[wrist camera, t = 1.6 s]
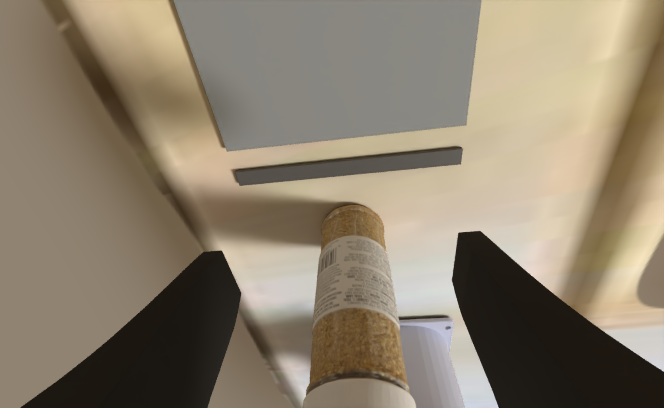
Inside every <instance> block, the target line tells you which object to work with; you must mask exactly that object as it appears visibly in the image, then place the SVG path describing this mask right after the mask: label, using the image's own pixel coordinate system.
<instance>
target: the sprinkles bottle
mask: <svg viewBox="0 0 664 408" xmlns="http://www.w3.org/2000/svg"><path fill="white" fill-rule="evenodd" d="M321 234H322V245H321V254H320V257H319V265H318V275H317V287H316V296H315V307H314V317H313V329H312V334H313V344H312V355H311V371H310V384H309V386H308V387H307V390H306V392H307V393H306V397H305V399H304V402H303V408H416V404H415V401H414V399H413V397H412V396H411V395H410V390H409V386H408V384H407V377H406V372H405V365H404V359H403V355H402V347H401V337H400V325H399V318H398V312H397V307H396V300H395V294H394V288H393V282H392V276H391V270H390V264H389V258H388V255H387V253H386V247H385V241H384V225H383V223H382V220H381V219H380V217H379V215H378V214H376V213H375V212H374V211H372V210H371V209H369V208H367V207H364V206H360V205H348V206H342V207H340V208H337V209H335V210H333V211H332V212H331V213H329V214H328V216H327V217H326V218H325V219H324V221H323V224H322V228H321Z"/></svg>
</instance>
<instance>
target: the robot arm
mask: <svg viewBox="0 0 664 408" xmlns="http://www.w3.org/2000/svg"><path fill="white" fill-rule="evenodd" d="M452 283H453V286H454V290H455V294H456V298H457V301H458V305H459V308H460V312H461V314H462V317H463V320H464V322H465V325H466V327H467V329H468V332H469V334H470V337H471V339H472V342H473V344H474V347H475V349H476V352H477V354H478V356H479V359H480V361H481V364H482V366H483V369H484V371H485V373H486V376H487V378H488V381H489V383H490V386H491V388H492V391H493V393H494V396H495V399H496V401H497V404H498V407H499V408H664V372H663V371H662V370H660V369H659V368H657V367H655V366H654V365H652V364H651V363H649V362H648V361H646V360H645V359H643V358H642V357H640V356H639V355H637V354H636V353H634V352H633V351H631V350H630V349H628V348H627V347H625V346H624V345H622V344H621V343H620V342H618V341H617V340H615V339H614V338H612V337H611V336H609V335H608V334H606V333H605V332H604V331H602V330H601V329H599V328H598V327H597V326H595V325H594V324H592V323H591V322H590V321H588V320H587V319H586V318H584V317H583V316H582V315H580V314H579V313H578V312H576V311H575V310H574V309H572V308H571V307H570V306H568V305H567V304H566V303H564V302H563V301H562V300H561V299H559V298H558V297H557V296H556V295H554V294H553V293H552V292H551V291H549V290H548V289H547V288H546V287H545V286H543V285H542V284H541V283H540V282H538V281H537V280H536V279H535V278H534V277H532V276H531V275H530V274H529V273H528V272H526V271H525V270H524V269H523V268H522V267H521V266H519V265H518V264H517V263H516V262H515V261H514V260H513V259H511V258H510V257H509V256H508V255H507V254H506V253H505V252H504V251H502V250H501V249H500V248H499V247H498V246H497V245H496V244H495V243H493V242H492V241H491V240H490V239H489V238H488V237H487V236H485V235H484V234H483V233H482V232H481V231H474V232H461V233H458V240H457V247H456V254H455V262H454V269H453V277H452ZM240 297H241V292H240V289H239V287H238V285H237V283H236V281H235V278H234V276H233V274H232V272H231V270H230V267H229V265H228V263H227V261H226V259H225V256H224V254H223V252H222V251H210V252H203V253H202V254H201V255H200V256H198V257H197V258H196V259H195V260H194V261H193V262H192V263H191V264H190V265H189V266H188V267H187V268H186V269H185V270H184V271H182V273H180V274H179V276H178V277H176V278H175V279H174V280H173V281H172V282H171V283H170V284H169V285H168V286H167V287H166V288H165V289H164V290H163V291H162V292H161V293H160V294H159V295H158V296H156V297H155V298H154V299H153V301H151V302H150V303H149V304H148V305H147V306H146V307H145V308H144V309H143V310H142V311H140V313H138V314H137V315H136V316H135V317H134V318H133V319H132V320H130V322H128V323H127V324H126V325H125V326H124V327H123V328H121V330H119V331H118V332H117V333H116V334H115V335H114V336H113V337H111V338H110V339H109V340H108V341H107V342H106V343H104V344H103V345H102V346H101V347H100V348H98V349H97V350H96V351H95V352H94V353H92V354H91V355H90V356H89V357H87V358H86V359H85V360H84V361H82V362H81V363H80V364H78V365H77V366H76V367H75V368H73V369H72V370H71V371H70V372H68V373H67V374H66V375H64V376H63V377H62V378H61V379H59V380H58V381H57V382H56V383H54V384H53V385H51V386H50V387H48V388H47V389H46V390H44V391H43V392H41V393H40V394H39V395H37V396H36V397H35V398H33V399H32V400H30V401H29V402H28V403H26V404H25V405H23V406H22V407H21V408H207V407H208V404H209V401H210V397H211V394H212V391H213V389H214V386H215V383H216V380H217V377H218V374H219V371H220V368H221V365H222V362H223V359H224V356H225V353H226V350H227V347H228V344H229V341H230V338H231V335H232V332H233V329H234V326H235V322H236V318H237V313H238V308H239V303H240ZM399 325H400V337H401V347H402V355H403V359H404V365H405V372H406V377H407V384H408V386H409V390H410V395H411V396H412V397H413V399H414V401H415V404H416V408H465V405H464V401H463V398H462V395H461V391H460V388H459V384H458V381H457V377H456V374H455V370H454V367H453V364H452V360H451V357H450V346H451V340H452V334H453V328H454V322H453V319H451V318H431V319H410V320H399Z"/></svg>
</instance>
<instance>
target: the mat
mask: <svg viewBox="0 0 664 408" xmlns="http://www.w3.org/2000/svg"><path fill="white" fill-rule="evenodd" d="M173 1H174V4H175V7H176V9H177V12H178V15H179V18H180V21H181V23H182V26H183V29H184V32H185V35H186V38H187V40H188V43H189V46H190V49H191V52H192V54H193V57H194V60H195V63H196V66H197V69H198V71H199V74H200V77H201V80H202V83H203V86H204V88H205V91H206V94H207V97H208V100H209V102H210V105H211V108H212V111H213V114H214V117H215V119H216V122H217V125H218V128H219V131H220V133H221V136H222V139H223V142H224V145H225V148H226V150H227V152H228V151H237V150H246V149H255V148H264V147H273V146H282V145H291V144H300V143H309V142H318V141H327V140H337V139H346V138H355V137H364V136H373V135H382V134H391V133H400V132H409V131H418V130H427V129H436V128H446V127H455V126H464V125H466V123H467V115H468V106H469V98H470V90H471V82H472V74H473V65H474V57H475V49H476V41H477V33H478V24H479V16H480V8H481V0H173Z"/></svg>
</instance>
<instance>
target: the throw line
mask: <svg viewBox="0 0 664 408" xmlns="http://www.w3.org/2000/svg"><path fill="white" fill-rule="evenodd" d="M462 151H463V149H462V148H461V147H456V148H446V149H437V150H427V151H417V152H408V153H398V154H388V155H379V156H369V157H359V158H349V159H340V160H330V161H320V162H311V163H301V164H291V165H282V166H272V167H262V168H253V169H243V170H236V172H235V174H236V177H237V179H238V182H239V185H240V186H243V185H253V184H263V183H273V182H284V181H294V180H304V179H314V178H325V177H335V176H345V175H355V174H366V173H376V172H386V171H396V170H407V169H417V168H427V167H437V166H448V165H458V164H461V159H462Z"/></svg>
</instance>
